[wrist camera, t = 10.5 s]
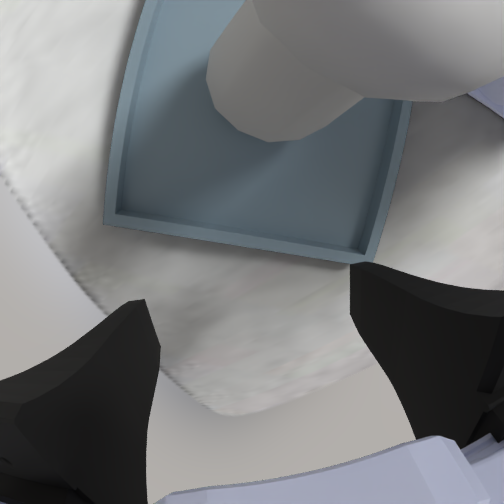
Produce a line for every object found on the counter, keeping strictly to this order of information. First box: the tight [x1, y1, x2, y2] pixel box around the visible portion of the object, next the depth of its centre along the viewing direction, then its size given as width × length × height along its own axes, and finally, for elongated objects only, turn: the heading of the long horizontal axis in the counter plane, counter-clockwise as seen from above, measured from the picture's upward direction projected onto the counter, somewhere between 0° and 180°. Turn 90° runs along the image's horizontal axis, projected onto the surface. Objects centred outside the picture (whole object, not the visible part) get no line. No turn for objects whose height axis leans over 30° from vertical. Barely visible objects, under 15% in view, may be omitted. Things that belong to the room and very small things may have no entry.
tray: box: [103, 0, 413, 264], centre depth 14 cm, size 14×14×2 cm
